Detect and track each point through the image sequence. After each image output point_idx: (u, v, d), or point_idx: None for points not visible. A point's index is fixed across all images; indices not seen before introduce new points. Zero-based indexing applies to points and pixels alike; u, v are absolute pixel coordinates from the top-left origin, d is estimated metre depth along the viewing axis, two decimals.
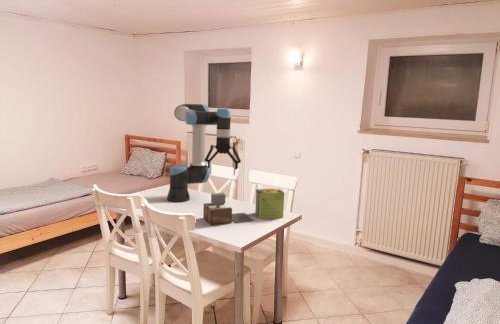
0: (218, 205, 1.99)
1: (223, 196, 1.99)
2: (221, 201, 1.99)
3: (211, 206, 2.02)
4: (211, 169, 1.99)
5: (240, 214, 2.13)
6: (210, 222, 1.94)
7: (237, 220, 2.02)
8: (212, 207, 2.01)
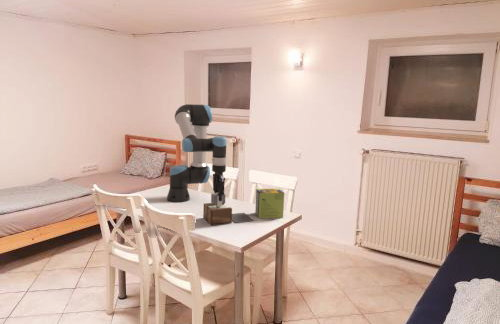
0: None
1: (223, 196, 1.99)
2: None
3: (211, 206, 2.02)
4: None
5: (240, 214, 2.13)
6: (210, 222, 1.94)
7: (237, 220, 2.02)
8: (212, 207, 2.01)
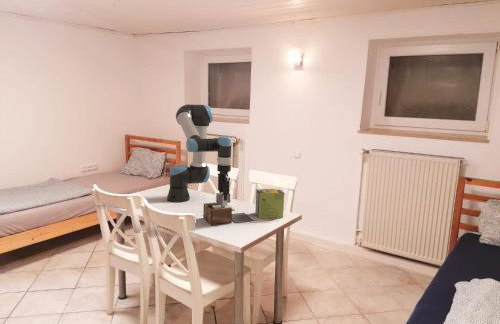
0: None
1: (228, 196, 2.00)
2: None
3: (216, 205, 2.04)
4: None
5: (240, 214, 2.13)
6: (210, 222, 1.94)
7: (237, 220, 2.02)
8: (217, 206, 2.02)
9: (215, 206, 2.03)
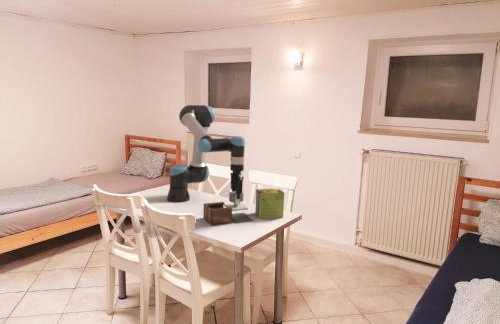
0: None
1: (241, 194, 2.03)
2: None
3: (229, 204, 2.07)
4: None
5: (240, 214, 2.13)
6: (210, 222, 1.94)
7: (237, 220, 2.02)
8: (230, 205, 2.06)
9: (228, 205, 2.06)
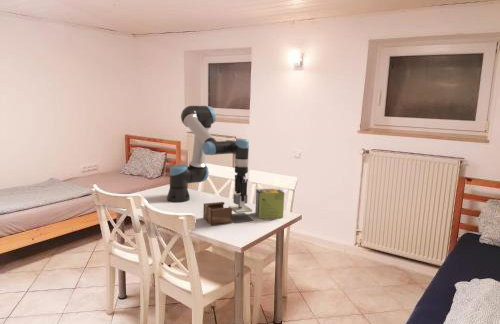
0: None
1: (245, 196, 2.05)
2: None
3: (233, 206, 2.08)
4: None
5: (240, 214, 2.13)
6: (210, 222, 1.94)
7: (237, 220, 2.02)
8: (234, 207, 2.07)
9: (232, 207, 2.07)
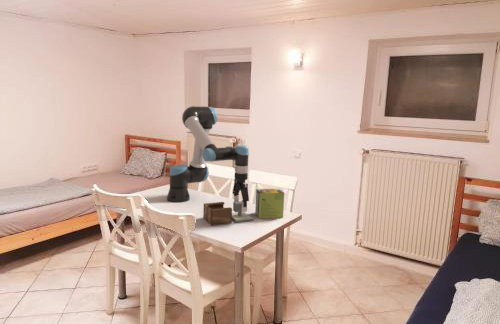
0: (240, 213, 2.06)
1: None
2: None
3: (233, 214, 2.09)
4: None
5: None
6: (210, 222, 1.94)
7: None
8: (234, 215, 2.08)
9: (232, 214, 2.08)
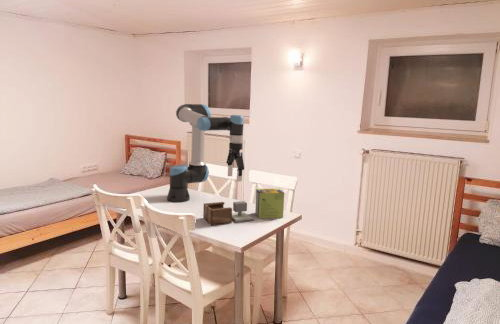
0: (240, 213, 2.06)
1: (245, 204, 2.05)
2: (243, 209, 2.05)
3: (233, 214, 2.09)
4: (230, 172, 2.10)
5: None
6: (210, 222, 1.94)
7: None
8: (234, 215, 2.08)
9: (232, 214, 2.08)
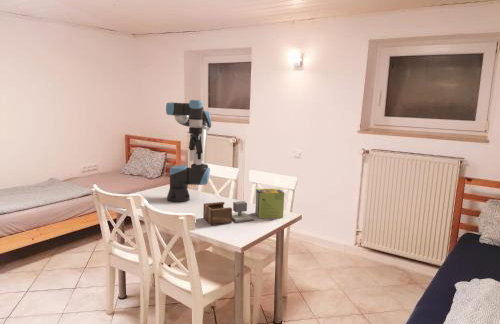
0: (240, 213, 2.06)
1: (245, 204, 2.05)
2: (243, 209, 2.05)
3: (233, 214, 2.09)
4: (192, 157, 2.15)
5: None
6: (210, 222, 1.94)
7: None
8: (234, 215, 2.08)
9: (232, 214, 2.08)
